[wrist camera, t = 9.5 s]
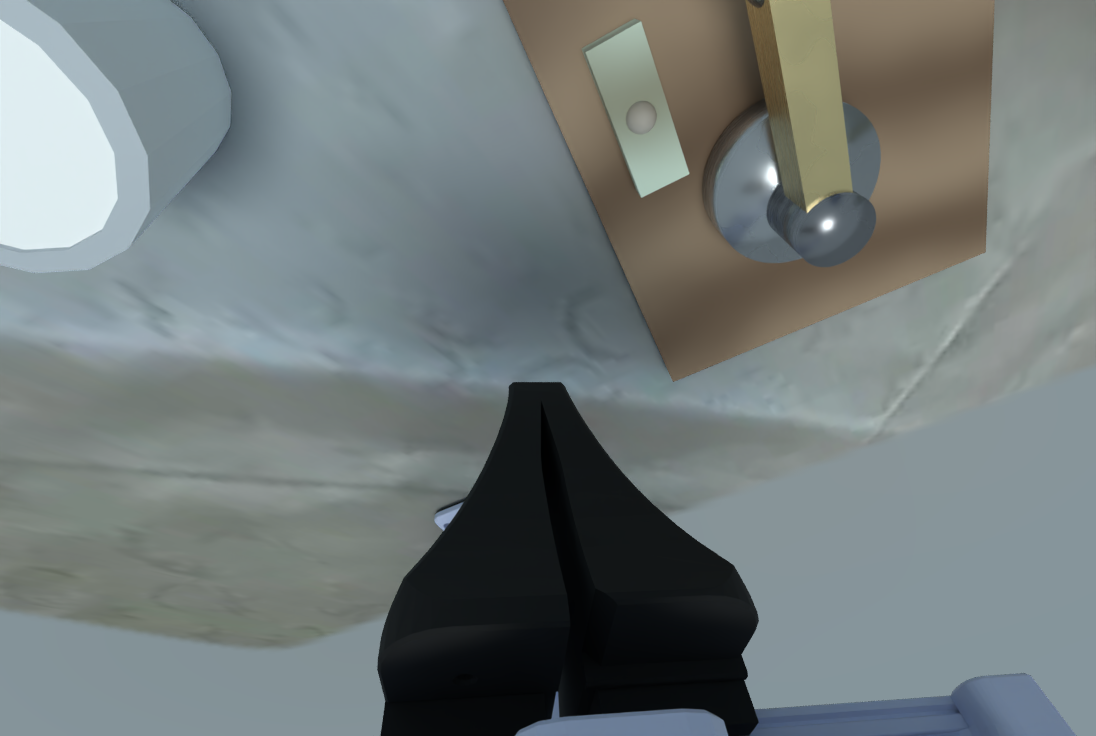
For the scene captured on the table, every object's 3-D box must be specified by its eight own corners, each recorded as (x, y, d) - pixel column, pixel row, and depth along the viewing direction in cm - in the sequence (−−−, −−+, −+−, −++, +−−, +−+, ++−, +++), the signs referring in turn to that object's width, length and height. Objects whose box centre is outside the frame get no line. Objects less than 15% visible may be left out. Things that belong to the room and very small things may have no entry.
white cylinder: (291, 158, 19) (210, 239, 14) (113, 206, 20) (-36, 303, 14) (165, -90, 15) (-25, -120, 9) (-57, -22, 15) (-365, -12, 10)
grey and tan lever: (862, 206, 21) (931, 251, 18) (723, 267, 22) (763, 321, 19) (825, -135, 15) (920, -162, 11) (634, -25, 16) (672, -21, 13)
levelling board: (968, 242, 24) (1011, 267, 22) (667, 369, 26) (681, 401, 24) (976, -365, 13) (1059, -420, 11) (480, -50, 16) (480, -51, 14)
